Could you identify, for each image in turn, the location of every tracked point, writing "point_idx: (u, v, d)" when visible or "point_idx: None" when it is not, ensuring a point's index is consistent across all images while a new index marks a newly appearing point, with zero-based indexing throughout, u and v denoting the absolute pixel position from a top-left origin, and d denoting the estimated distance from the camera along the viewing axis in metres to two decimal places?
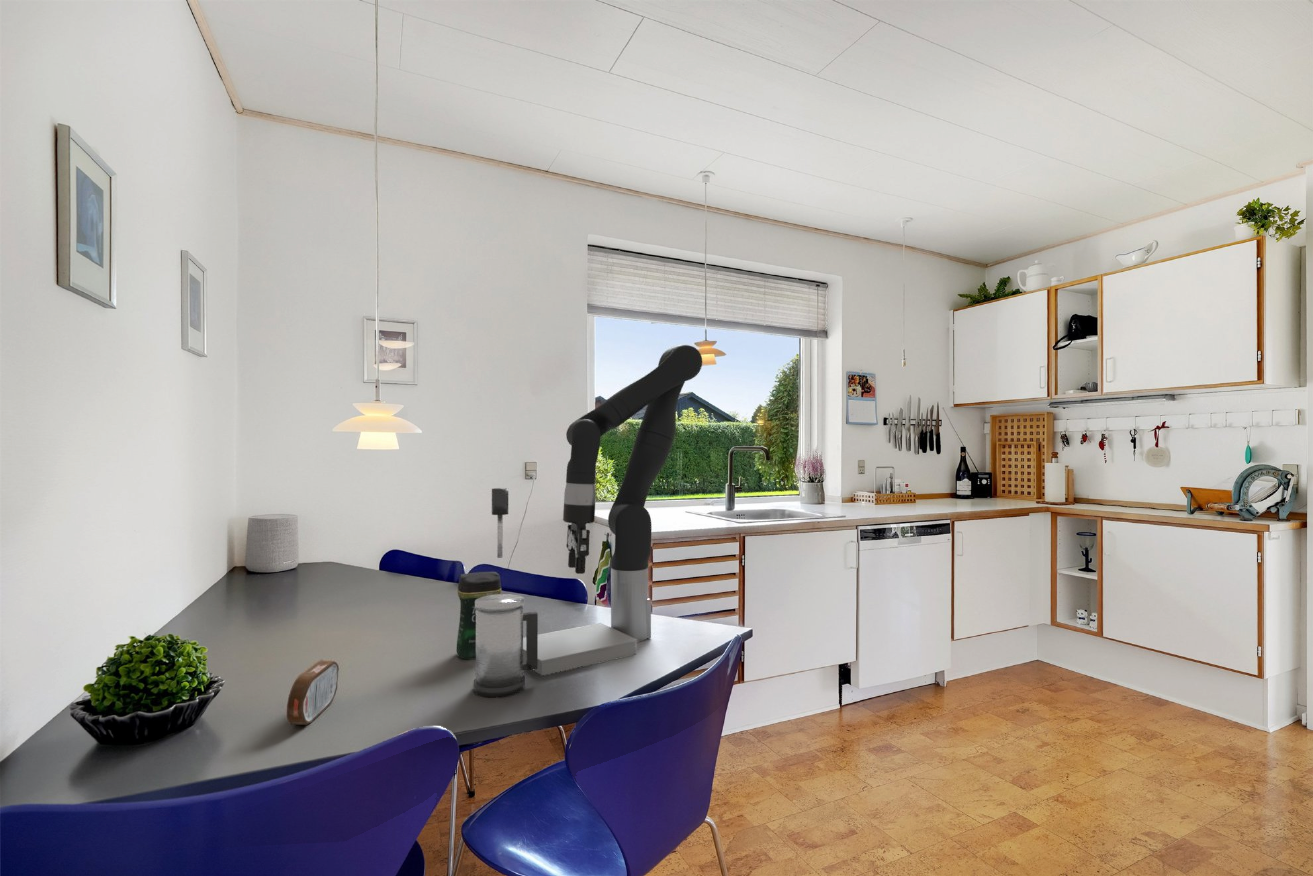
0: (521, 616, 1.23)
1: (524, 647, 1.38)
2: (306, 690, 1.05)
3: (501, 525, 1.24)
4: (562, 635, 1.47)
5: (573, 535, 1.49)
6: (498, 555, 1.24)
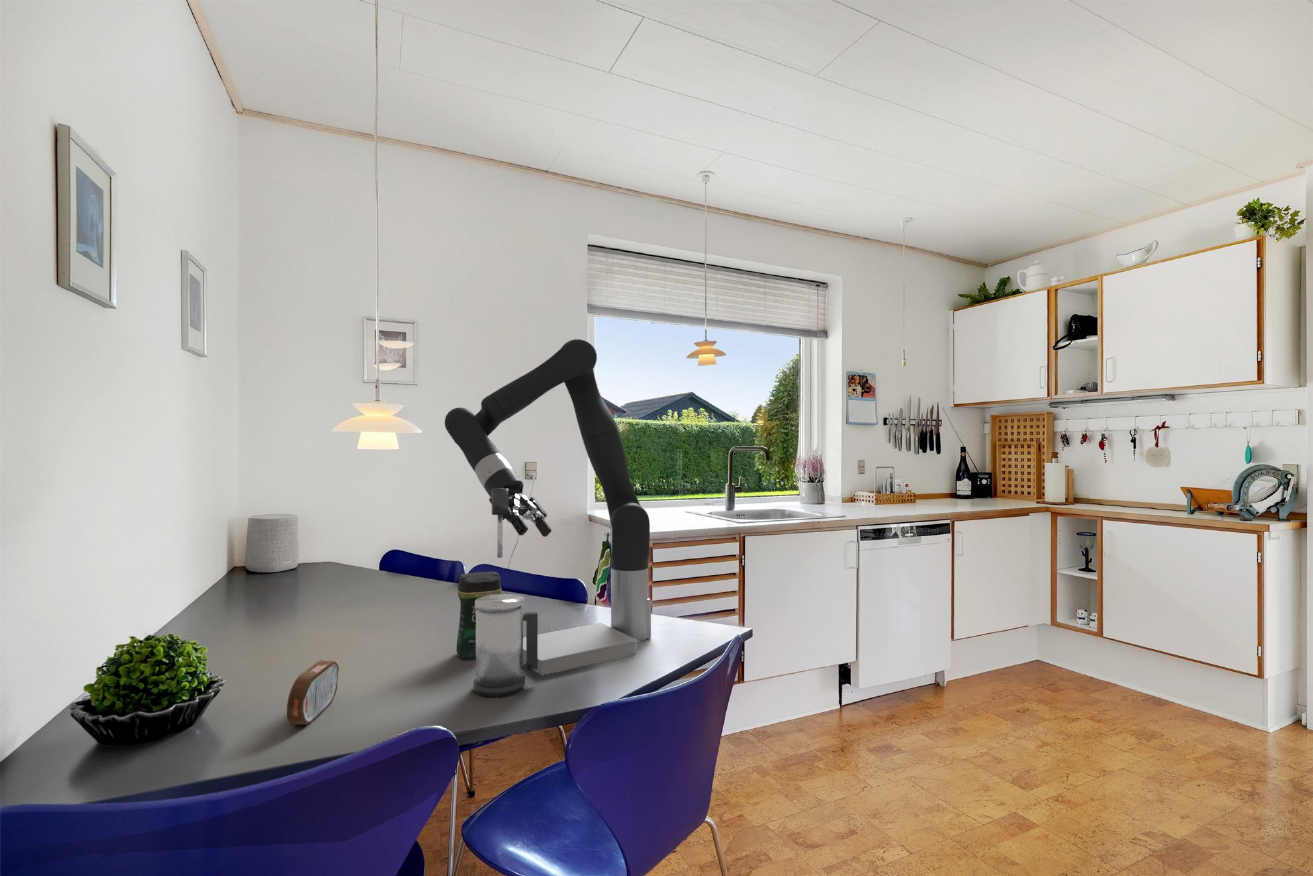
0: (521, 616, 1.23)
1: (524, 647, 1.38)
2: (306, 690, 1.05)
3: (501, 525, 1.24)
4: (562, 635, 1.47)
5: None
6: (498, 555, 1.24)
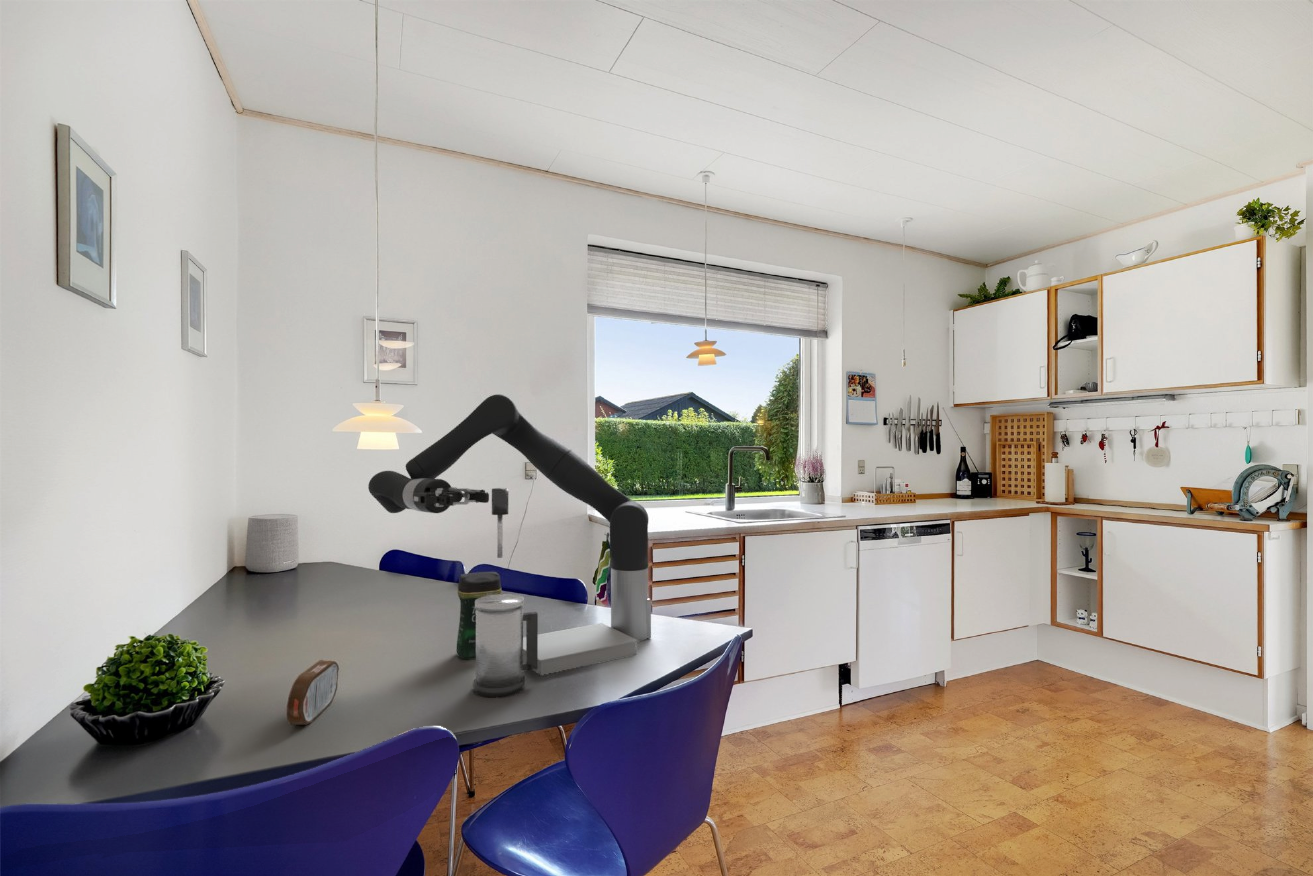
0: (521, 616, 1.23)
1: (524, 647, 1.38)
2: (306, 690, 1.05)
3: (501, 525, 1.24)
4: (562, 635, 1.47)
5: None
6: (498, 555, 1.24)
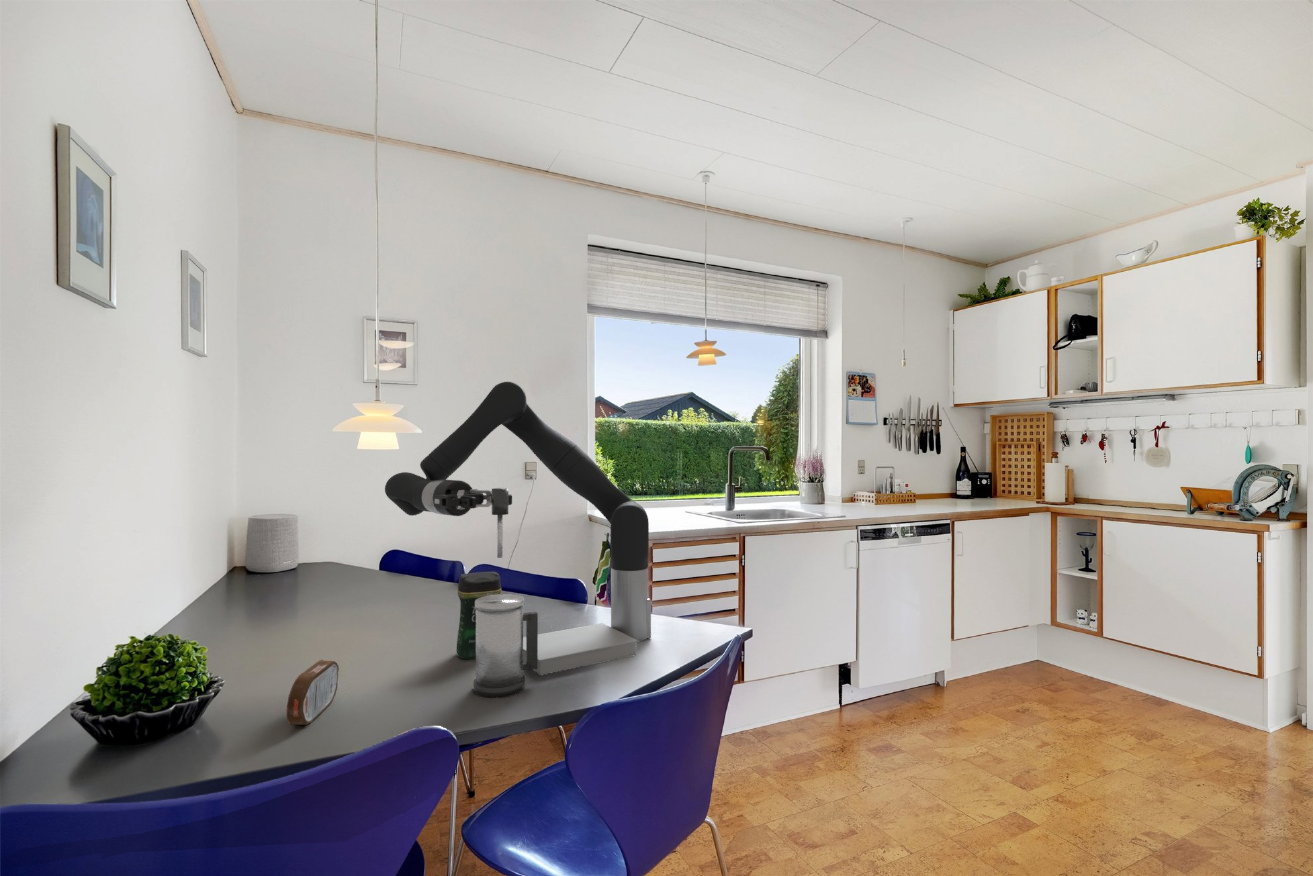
0: (521, 616, 1.23)
1: (524, 646, 1.39)
2: (306, 690, 1.05)
3: (501, 525, 1.24)
4: (562, 635, 1.47)
5: None
6: (498, 555, 1.24)
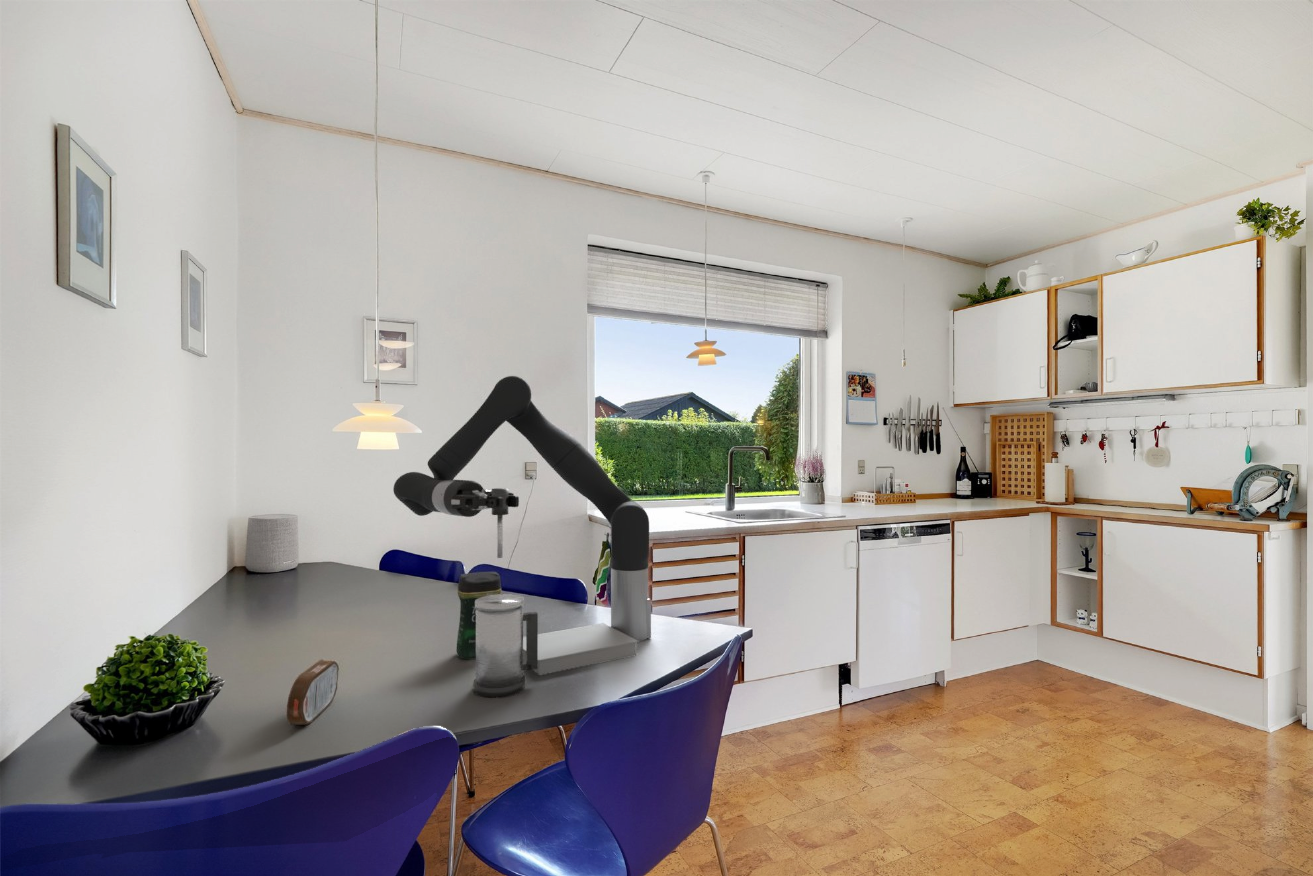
0: (521, 616, 1.23)
1: (523, 646, 1.39)
2: (306, 690, 1.05)
3: (501, 525, 1.24)
4: (563, 635, 1.47)
5: None
6: (498, 556, 1.24)
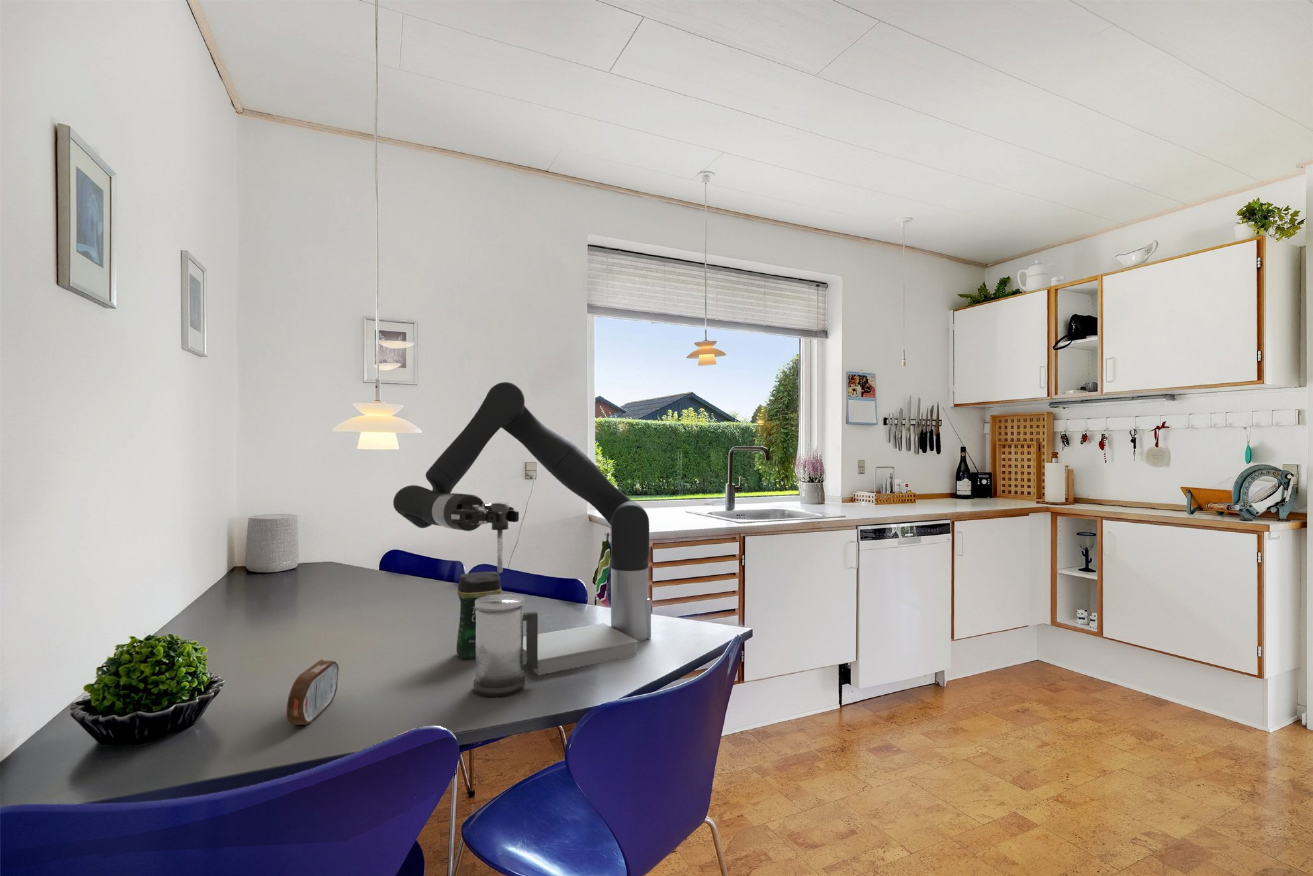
0: (521, 616, 1.23)
1: (523, 646, 1.39)
2: (306, 690, 1.05)
3: (501, 540, 1.24)
4: (563, 634, 1.47)
5: None
6: (498, 570, 1.24)
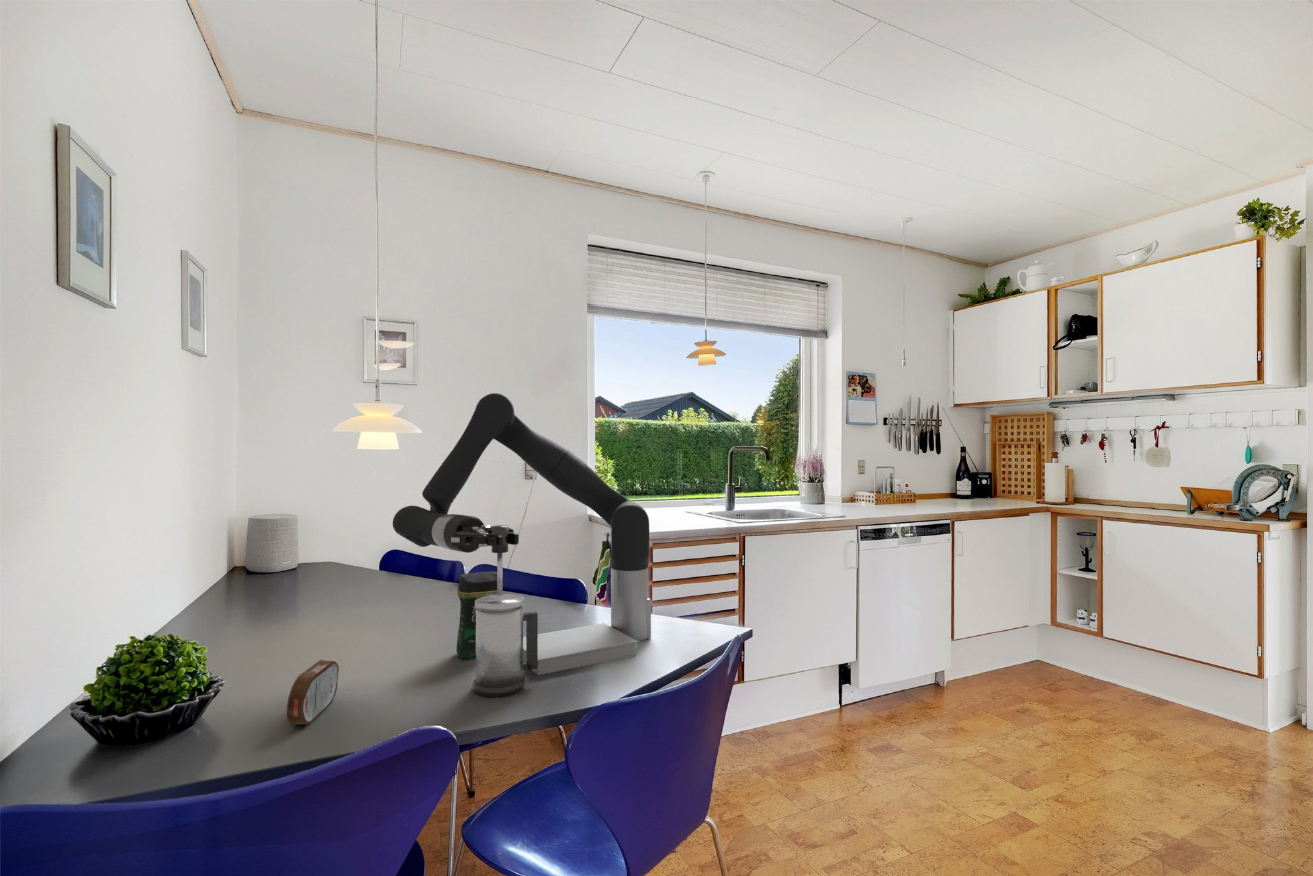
0: (521, 616, 1.23)
1: (523, 646, 1.39)
2: (306, 690, 1.05)
3: (501, 563, 1.24)
4: (563, 634, 1.47)
5: None
6: (498, 593, 1.23)
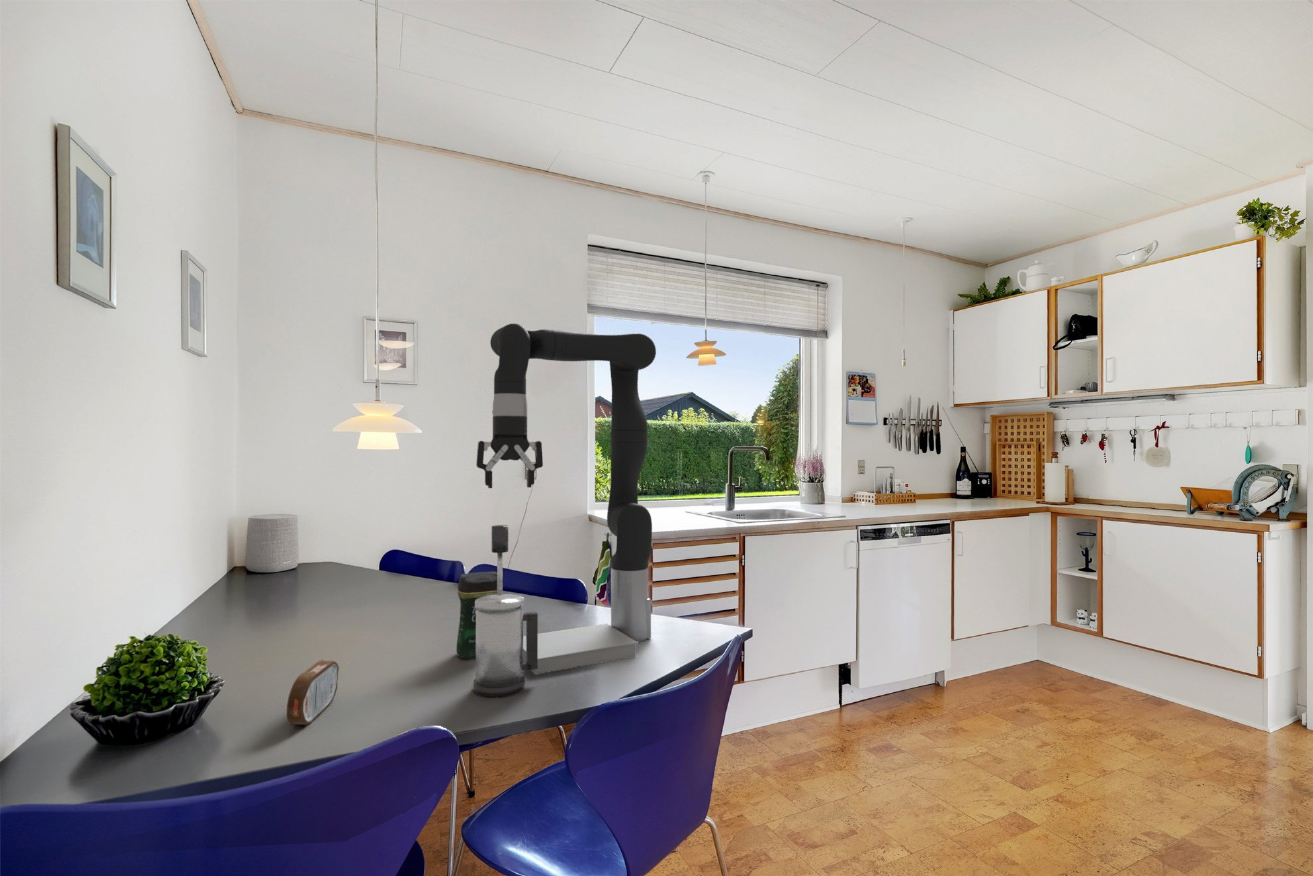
0: (521, 616, 1.23)
1: (523, 645, 1.40)
2: (306, 690, 1.05)
3: (501, 562, 1.24)
4: (564, 634, 1.48)
5: None
6: (498, 593, 1.23)
